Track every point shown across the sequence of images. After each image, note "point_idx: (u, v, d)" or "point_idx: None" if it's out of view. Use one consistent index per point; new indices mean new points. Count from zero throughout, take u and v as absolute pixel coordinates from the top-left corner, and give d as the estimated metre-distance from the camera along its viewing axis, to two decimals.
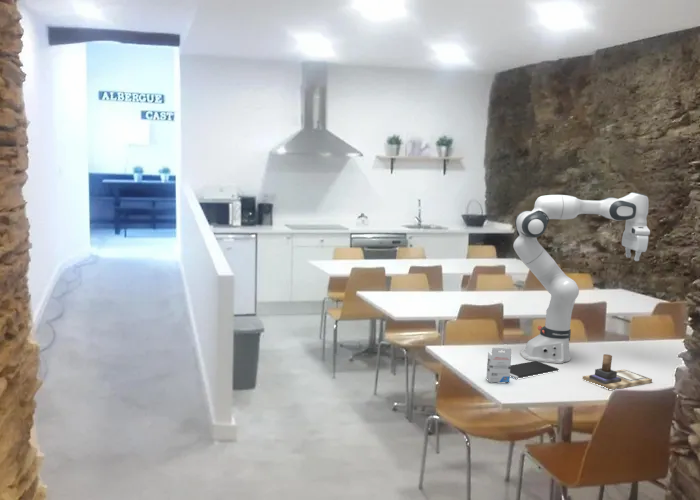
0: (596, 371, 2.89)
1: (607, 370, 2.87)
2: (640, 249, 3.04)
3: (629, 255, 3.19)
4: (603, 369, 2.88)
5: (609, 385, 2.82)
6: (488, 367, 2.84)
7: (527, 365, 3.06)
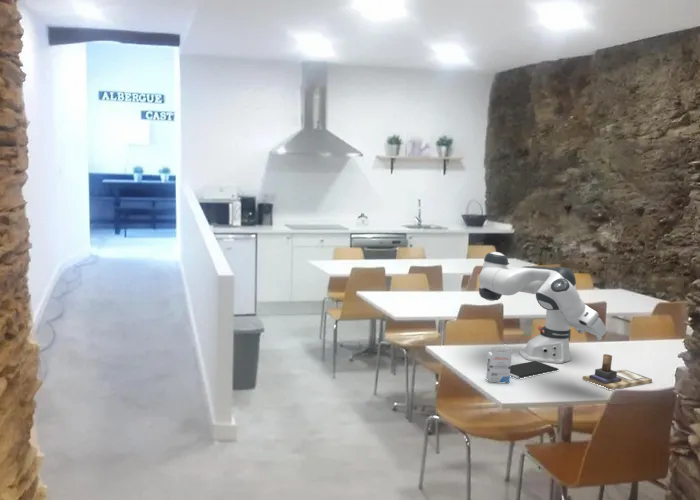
0: (596, 371, 2.89)
1: (607, 370, 2.87)
2: (602, 334, 2.68)
3: (582, 330, 2.83)
4: (603, 369, 2.88)
5: (609, 385, 2.82)
6: (488, 367, 2.84)
7: (527, 364, 3.06)
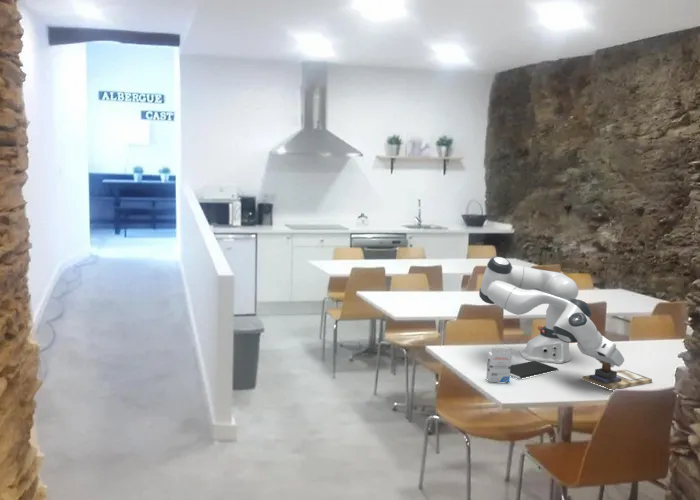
0: (596, 371, 2.89)
1: (607, 370, 2.87)
2: (621, 364, 2.77)
3: None
4: (603, 369, 2.88)
5: (609, 385, 2.82)
6: (488, 367, 2.84)
7: (526, 365, 3.06)
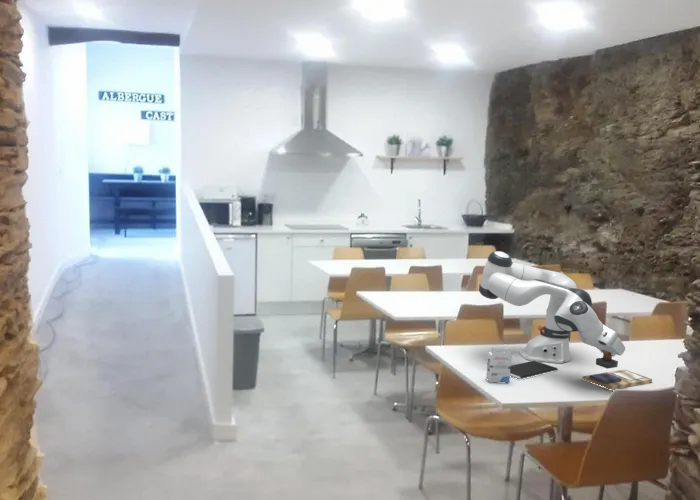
0: (597, 360, 2.88)
1: (608, 359, 2.86)
2: (622, 353, 2.76)
3: None
4: (604, 358, 2.87)
5: (609, 385, 2.82)
6: (488, 367, 2.84)
7: (526, 365, 3.06)
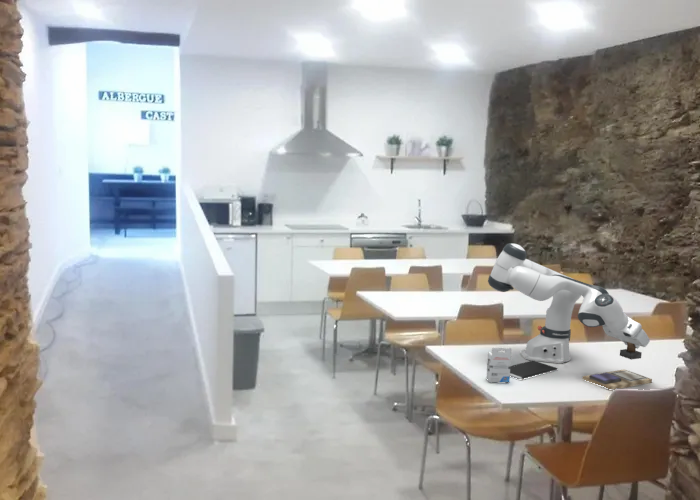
0: (621, 351, 2.94)
1: (632, 350, 2.92)
2: (646, 344, 2.82)
3: None
4: (628, 349, 2.93)
5: (609, 385, 2.82)
6: (488, 367, 2.84)
7: (526, 365, 3.05)
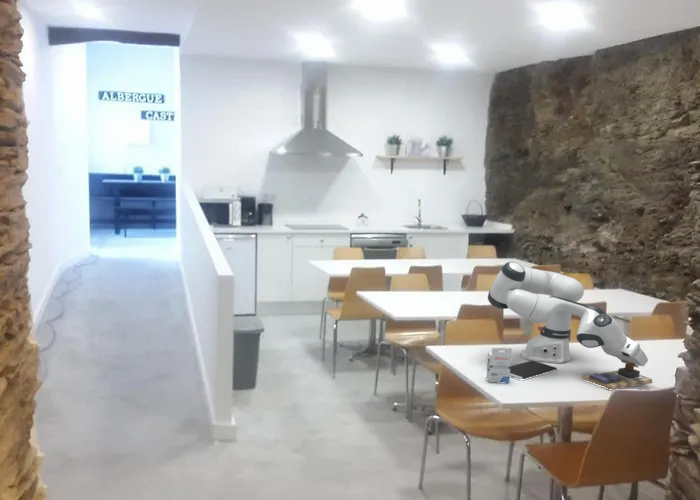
0: (619, 370, 2.96)
1: (630, 369, 2.94)
2: (644, 363, 2.84)
3: (625, 360, 2.97)
4: (626, 368, 2.95)
5: (609, 385, 2.82)
6: (488, 367, 2.84)
7: (526, 365, 3.05)
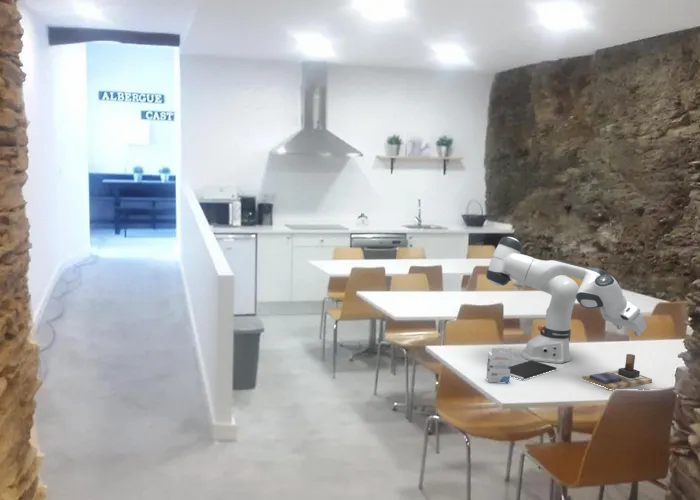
0: (619, 370, 2.96)
1: (630, 369, 2.94)
2: (643, 329, 2.78)
3: (620, 326, 2.92)
4: (626, 368, 2.95)
5: (609, 385, 2.82)
6: (488, 367, 2.84)
7: (526, 365, 3.05)
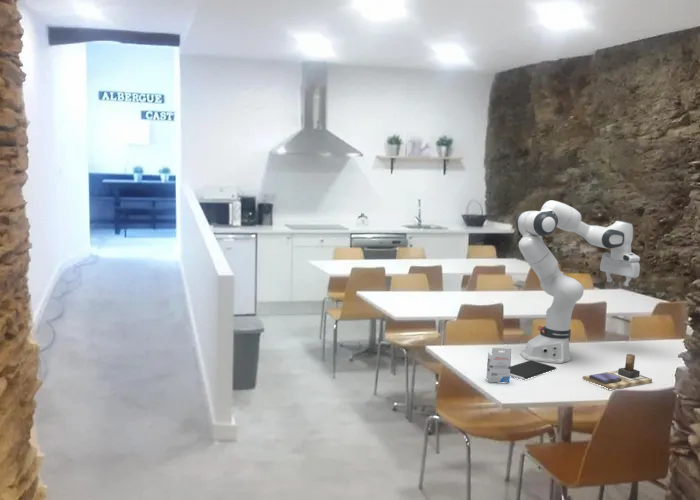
0: (619, 370, 2.96)
1: (630, 369, 2.94)
2: (635, 275, 3.20)
3: (611, 280, 3.33)
4: (626, 368, 2.95)
5: (609, 385, 2.82)
6: (488, 367, 2.84)
7: (525, 365, 3.05)
